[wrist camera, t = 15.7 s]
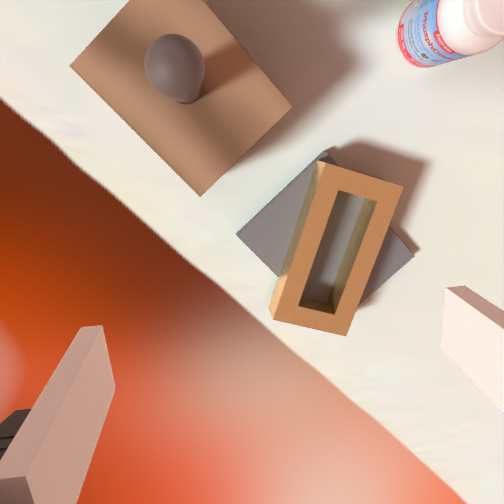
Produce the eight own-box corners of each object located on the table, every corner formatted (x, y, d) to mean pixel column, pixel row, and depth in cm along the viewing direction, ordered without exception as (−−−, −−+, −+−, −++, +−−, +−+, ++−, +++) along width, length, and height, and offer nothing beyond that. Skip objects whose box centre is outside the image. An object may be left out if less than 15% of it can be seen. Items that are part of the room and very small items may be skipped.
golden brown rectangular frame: (390, 182, 41) (404, 186, 38) (337, 323, 45) (346, 336, 42) (317, 160, 40) (325, 162, 37) (268, 307, 44) (272, 319, 41)
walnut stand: (176, -5, 35) (142, -154, 17) (276, 111, 39) (338, 94, 20) (98, 79, 37) (-15, 26, 18) (201, 184, 40) (196, 230, 22)
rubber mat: (323, 151, 41) (326, 151, 40) (410, 253, 45) (414, 256, 44) (236, 233, 42) (236, 235, 41) (327, 325, 46) (330, 329, 45)
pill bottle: (380, 39, 38) (447, 3, 27) (425, -19, 37) (512, -79, 26) (424, 83, 40) (504, 65, 29) (468, 29, 39) (567, -10, 28)
